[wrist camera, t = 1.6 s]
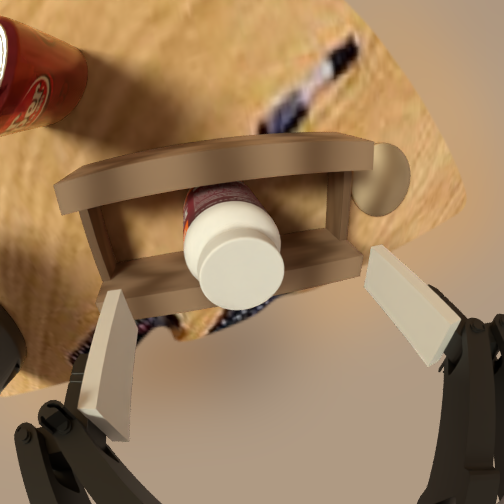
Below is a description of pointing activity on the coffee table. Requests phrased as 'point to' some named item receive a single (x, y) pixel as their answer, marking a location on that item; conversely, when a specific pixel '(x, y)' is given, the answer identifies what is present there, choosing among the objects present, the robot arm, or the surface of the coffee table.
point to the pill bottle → (231, 245)
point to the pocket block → (207, 173)
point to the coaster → (382, 181)
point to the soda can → (37, 77)
